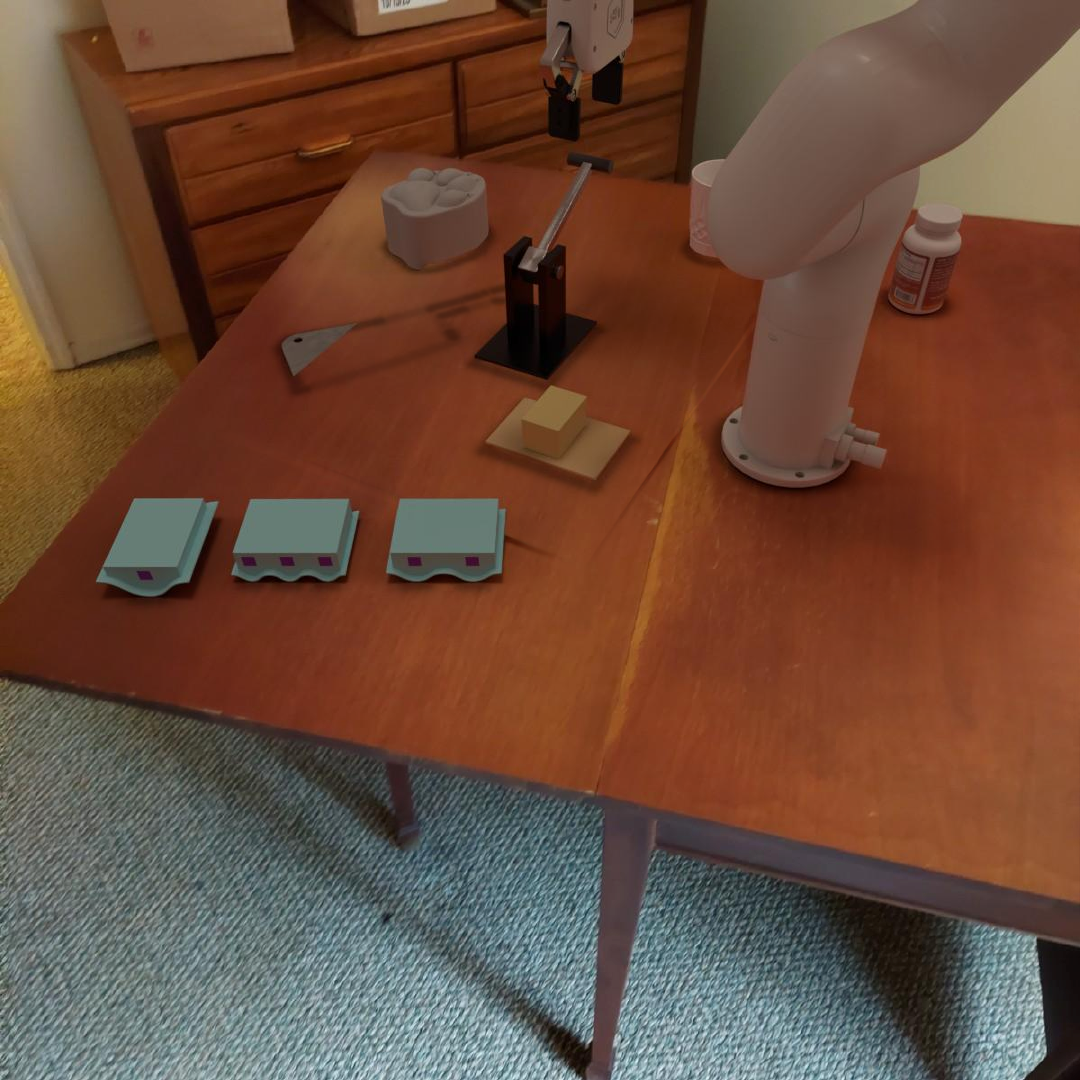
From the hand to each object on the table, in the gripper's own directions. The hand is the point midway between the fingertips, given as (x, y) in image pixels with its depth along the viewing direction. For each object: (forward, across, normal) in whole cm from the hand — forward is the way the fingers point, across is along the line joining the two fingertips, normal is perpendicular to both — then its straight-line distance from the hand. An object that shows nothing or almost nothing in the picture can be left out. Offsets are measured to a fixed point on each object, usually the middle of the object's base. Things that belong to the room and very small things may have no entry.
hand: (586, 119), depth 96 cm
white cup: (+22, +20, -9) cm, 31 cm away
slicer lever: (+10, -3, +1) cm, 11 cm away
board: (+22, -24, -9) cm, 33 cm away
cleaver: (+22, -13, +15) cm, 30 cm away
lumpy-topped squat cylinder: (+22, +6, +23) cm, 32 cm away
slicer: (+22, -9, +1) cm, 24 cm away
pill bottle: (+22, +18, -34) cm, 45 cm away
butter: (+20, -24, -9) cm, 32 cm away
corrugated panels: (+22, -47, +4) cm, 52 cm away
